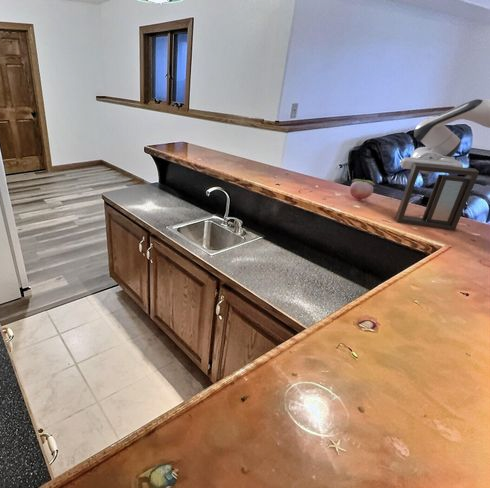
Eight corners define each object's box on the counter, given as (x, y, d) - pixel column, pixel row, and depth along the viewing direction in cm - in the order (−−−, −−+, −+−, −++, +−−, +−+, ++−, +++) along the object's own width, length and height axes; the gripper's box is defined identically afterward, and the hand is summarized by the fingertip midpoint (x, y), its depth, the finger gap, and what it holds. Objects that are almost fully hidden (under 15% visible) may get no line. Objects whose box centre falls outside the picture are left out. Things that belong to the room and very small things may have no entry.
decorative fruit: (370, 198, 156) (376, 177, 152) (370, 204, 150) (376, 181, 145) (347, 195, 160) (353, 174, 156) (346, 200, 154) (351, 178, 149)
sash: (442, 218, 132) (459, 174, 125) (445, 222, 128) (463, 177, 121) (420, 215, 135) (436, 171, 127) (422, 219, 131) (439, 175, 123)
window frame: (451, 225, 130) (474, 168, 120) (454, 230, 125) (479, 171, 116) (395, 217, 136) (413, 162, 127) (397, 222, 132) (416, 165, 123)
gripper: (401, 152, 150) (405, 158, 139) (459, 157, 142) (469, 164, 131) (396, 167, 153) (400, 174, 142) (453, 172, 145) (462, 180, 134)
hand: (434, 169), depth 136 cm, fingers open, 8 cm apart
